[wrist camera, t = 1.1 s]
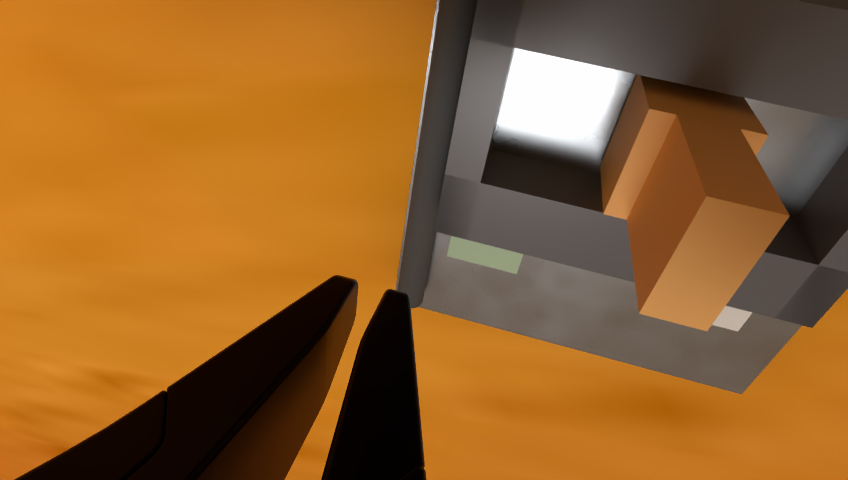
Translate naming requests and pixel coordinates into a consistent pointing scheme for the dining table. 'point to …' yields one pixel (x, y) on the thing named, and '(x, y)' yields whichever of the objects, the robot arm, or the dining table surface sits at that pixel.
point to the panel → (600, 294)
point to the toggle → (689, 197)
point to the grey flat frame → (435, 141)
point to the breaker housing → (666, 60)
